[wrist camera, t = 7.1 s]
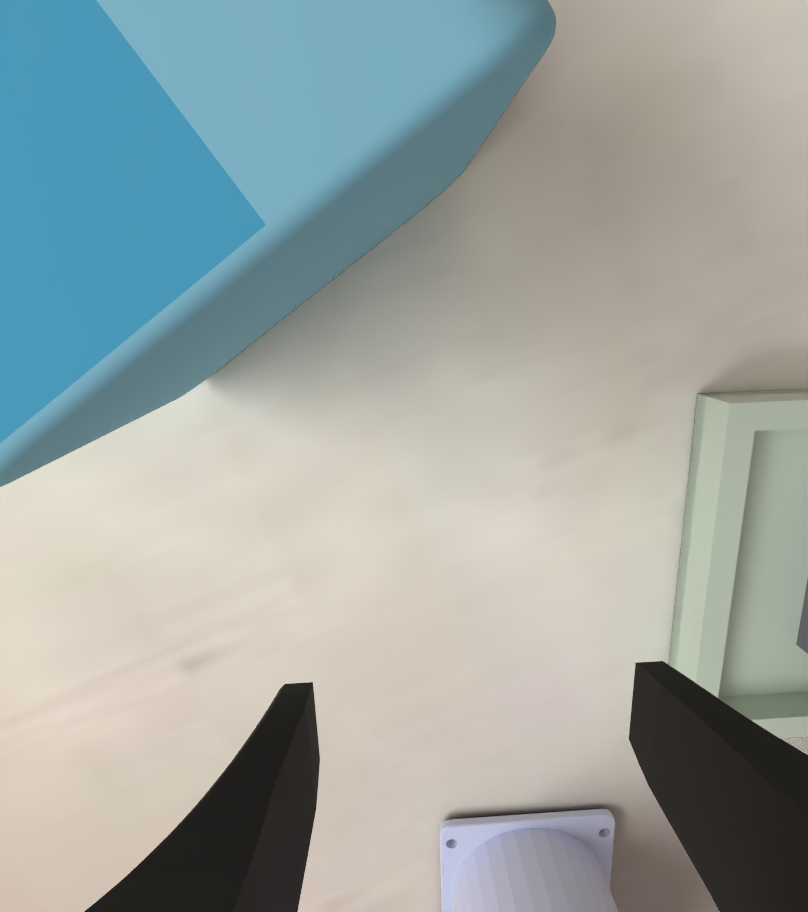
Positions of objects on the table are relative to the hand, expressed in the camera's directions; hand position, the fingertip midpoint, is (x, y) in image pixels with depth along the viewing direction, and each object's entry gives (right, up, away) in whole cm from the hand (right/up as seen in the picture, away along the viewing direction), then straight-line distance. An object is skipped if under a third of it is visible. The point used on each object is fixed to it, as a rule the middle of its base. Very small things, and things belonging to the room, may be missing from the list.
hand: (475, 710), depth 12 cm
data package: (-6, +13, +7) cm, 16 cm away
